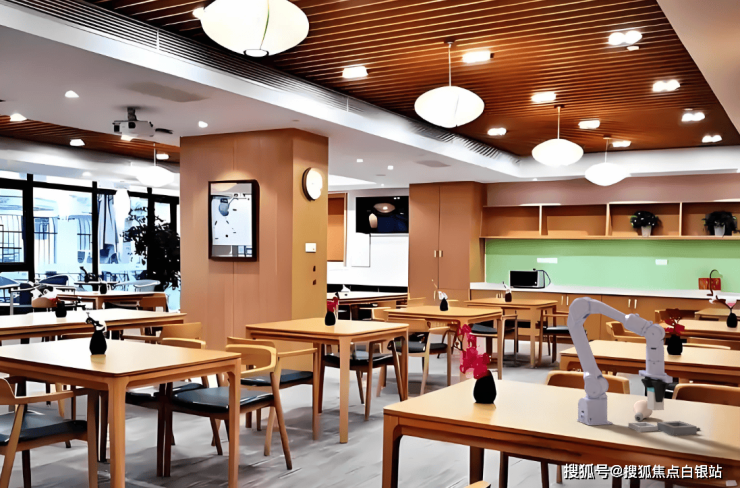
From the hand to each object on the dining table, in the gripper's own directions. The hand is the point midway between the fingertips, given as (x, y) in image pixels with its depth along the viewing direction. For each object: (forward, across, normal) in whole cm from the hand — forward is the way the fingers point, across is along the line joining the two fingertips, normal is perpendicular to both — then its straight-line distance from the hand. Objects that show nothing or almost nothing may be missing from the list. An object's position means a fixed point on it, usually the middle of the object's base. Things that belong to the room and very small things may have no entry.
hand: (655, 400), depth 231 cm
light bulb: (+10, +16, -6) cm, 20 cm away
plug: (+3, 0, 0) cm, 3 cm away
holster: (+10, +2, +3) cm, 10 cm away
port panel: (+10, -4, -8) cm, 13 cm away
